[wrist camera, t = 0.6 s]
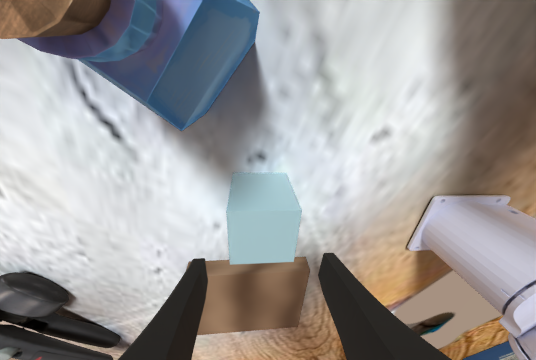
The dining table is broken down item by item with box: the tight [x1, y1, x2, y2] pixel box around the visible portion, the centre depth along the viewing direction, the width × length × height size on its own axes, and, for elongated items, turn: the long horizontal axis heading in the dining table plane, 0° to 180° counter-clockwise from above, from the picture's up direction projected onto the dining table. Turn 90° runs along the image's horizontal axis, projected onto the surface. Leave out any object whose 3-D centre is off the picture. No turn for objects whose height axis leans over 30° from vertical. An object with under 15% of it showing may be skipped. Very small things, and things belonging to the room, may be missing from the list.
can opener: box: [0, 272, 120, 360], centre depth 22 cm, size 18×7×6 cm, turn 22°
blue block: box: [226, 173, 302, 265], centre depth 16 cm, size 5×5×6 cm
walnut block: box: [186, 257, 310, 335], centre depth 25 cm, size 14×12×2 cm
